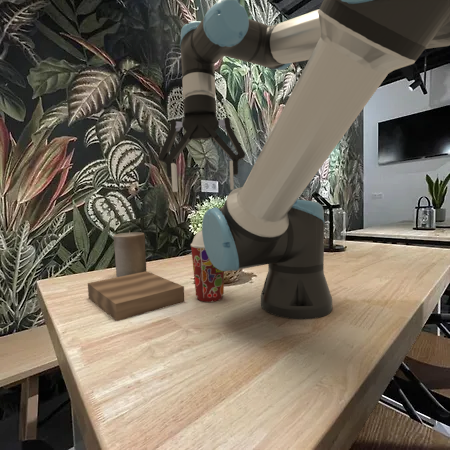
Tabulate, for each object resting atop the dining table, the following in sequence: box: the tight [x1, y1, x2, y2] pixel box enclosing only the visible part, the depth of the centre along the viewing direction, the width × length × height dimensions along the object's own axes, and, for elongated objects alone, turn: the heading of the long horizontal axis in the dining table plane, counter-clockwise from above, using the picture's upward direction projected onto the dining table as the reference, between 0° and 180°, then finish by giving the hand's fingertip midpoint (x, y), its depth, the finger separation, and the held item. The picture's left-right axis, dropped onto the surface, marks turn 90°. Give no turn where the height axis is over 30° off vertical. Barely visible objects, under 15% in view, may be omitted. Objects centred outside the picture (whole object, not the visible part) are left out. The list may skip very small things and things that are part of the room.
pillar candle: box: [113, 230, 147, 277], centre depth 94 cm, size 10×10×15 cm
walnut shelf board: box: [87, 270, 185, 322], centre depth 70 cm, size 20×16×4 cm
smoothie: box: [190, 229, 225, 303], centre depth 69 cm, size 8×8×20 cm
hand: (203, 190), depth 68 cm, fingers open, 13 cm apart
